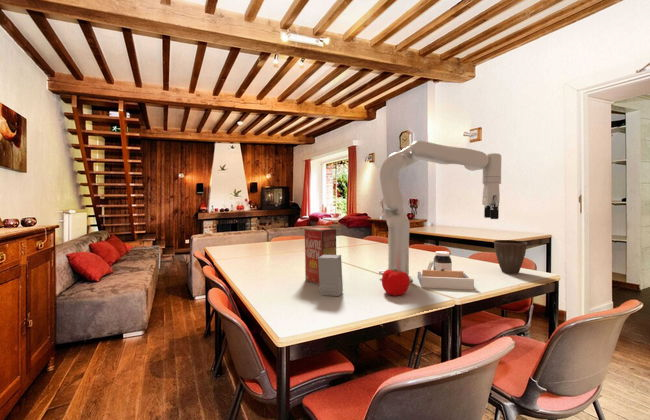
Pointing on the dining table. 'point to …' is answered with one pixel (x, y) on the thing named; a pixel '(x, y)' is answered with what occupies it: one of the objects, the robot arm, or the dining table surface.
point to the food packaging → (317, 249)
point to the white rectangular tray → (446, 282)
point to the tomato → (395, 282)
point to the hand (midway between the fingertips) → (491, 218)
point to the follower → (442, 273)
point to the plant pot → (510, 255)
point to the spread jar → (441, 261)
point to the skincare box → (330, 275)
